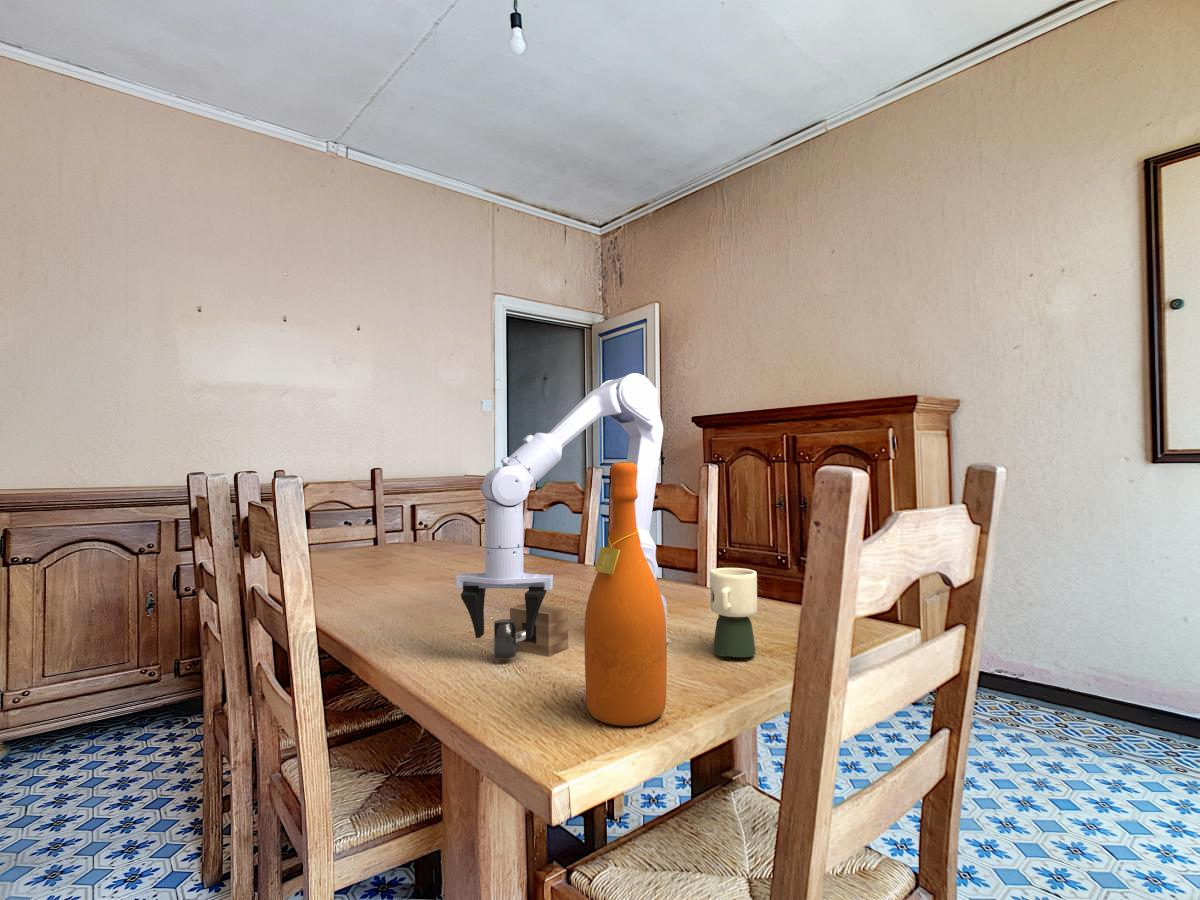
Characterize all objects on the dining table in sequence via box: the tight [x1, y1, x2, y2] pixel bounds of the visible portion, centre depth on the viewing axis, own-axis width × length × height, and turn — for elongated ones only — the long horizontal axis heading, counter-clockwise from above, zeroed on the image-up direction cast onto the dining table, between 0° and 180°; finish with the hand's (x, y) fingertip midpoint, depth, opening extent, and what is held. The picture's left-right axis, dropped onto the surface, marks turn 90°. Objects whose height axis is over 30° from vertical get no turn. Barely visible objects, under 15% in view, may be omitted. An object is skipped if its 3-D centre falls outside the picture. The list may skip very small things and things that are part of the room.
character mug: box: [709, 567, 758, 660], centre depth 93 cm, size 11×7×13 cm, turn 152°
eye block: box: [509, 603, 569, 657], centre depth 98 cm, size 5×8×6 cm, turn 56°
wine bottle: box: [583, 461, 668, 727], centre depth 73 cm, size 10×10×30 cm
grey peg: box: [493, 618, 536, 660], centre depth 96 cm, size 13×3×5 cm, turn 146°
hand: (504, 636), depth 91 cm, fingers open, 7 cm apart
